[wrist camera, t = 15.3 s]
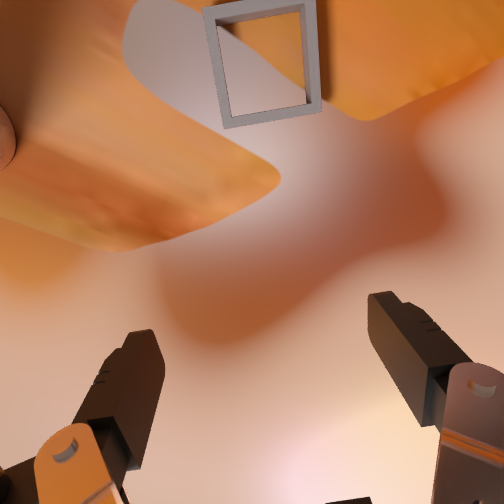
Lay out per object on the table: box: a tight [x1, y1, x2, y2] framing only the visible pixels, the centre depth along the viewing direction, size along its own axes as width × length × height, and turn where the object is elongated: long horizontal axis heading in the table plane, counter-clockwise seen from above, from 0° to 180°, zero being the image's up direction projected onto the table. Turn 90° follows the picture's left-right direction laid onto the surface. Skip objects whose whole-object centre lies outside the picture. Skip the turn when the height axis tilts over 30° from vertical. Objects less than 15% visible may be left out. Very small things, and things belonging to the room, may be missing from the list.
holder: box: [202, 0, 322, 129], centre depth 31 cm, size 10×10×2 cm
